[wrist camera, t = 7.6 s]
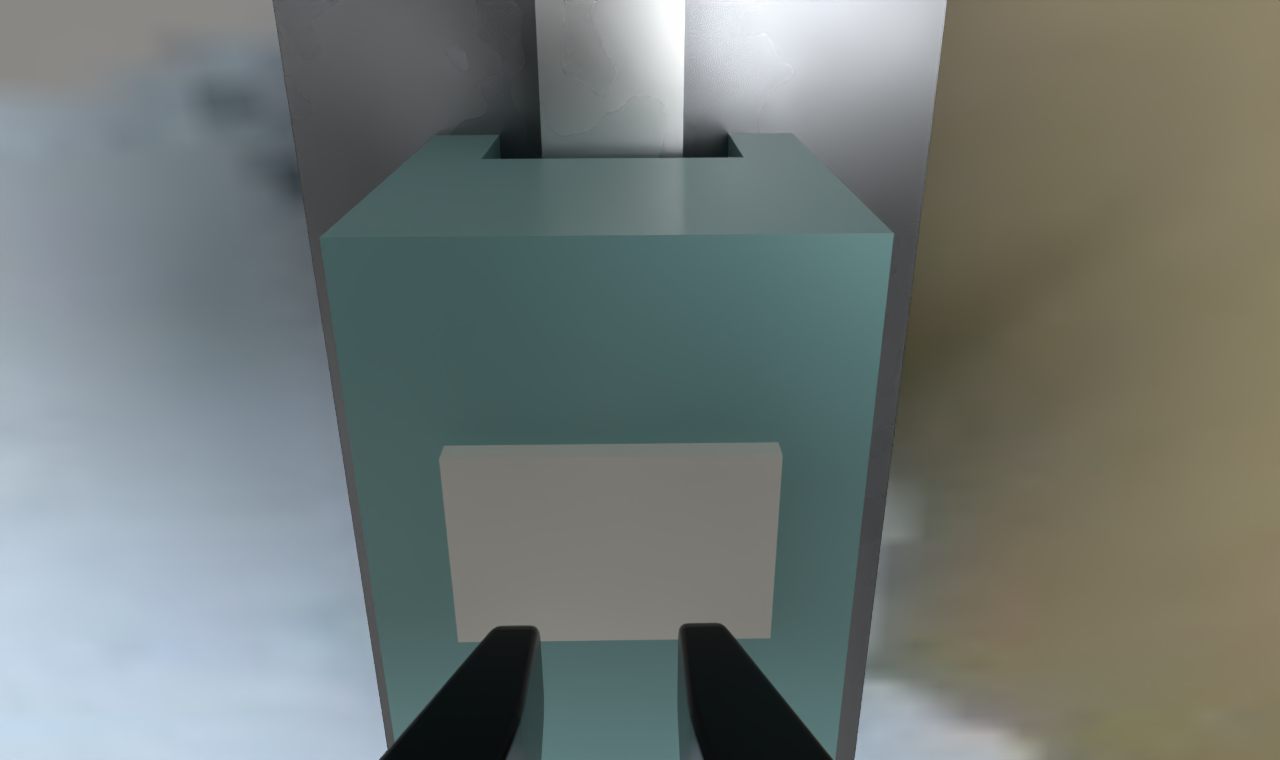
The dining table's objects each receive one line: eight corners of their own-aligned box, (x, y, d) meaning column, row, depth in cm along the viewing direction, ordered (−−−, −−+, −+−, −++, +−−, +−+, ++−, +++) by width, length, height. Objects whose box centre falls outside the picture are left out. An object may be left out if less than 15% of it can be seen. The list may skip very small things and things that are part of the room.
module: (768, 513, 17) (839, 783, 12) (470, 516, 17) (392, 790, 12) (791, 133, 15) (901, 242, 9) (434, 135, 14) (309, 245, 9)
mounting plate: (843, 734, 21) (869, 827, 19) (401, 741, 21) (374, 836, 19) (967, -355, 13) (1041, -423, 11) (243, -354, 13) (160, -424, 10)
